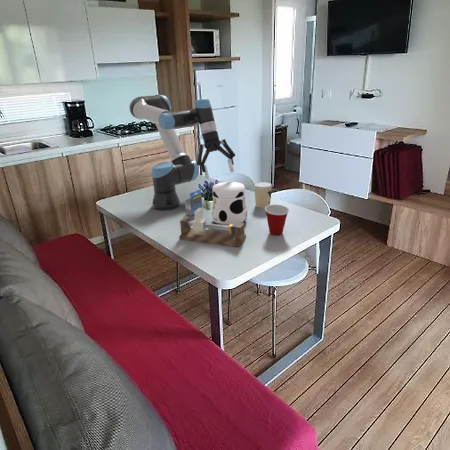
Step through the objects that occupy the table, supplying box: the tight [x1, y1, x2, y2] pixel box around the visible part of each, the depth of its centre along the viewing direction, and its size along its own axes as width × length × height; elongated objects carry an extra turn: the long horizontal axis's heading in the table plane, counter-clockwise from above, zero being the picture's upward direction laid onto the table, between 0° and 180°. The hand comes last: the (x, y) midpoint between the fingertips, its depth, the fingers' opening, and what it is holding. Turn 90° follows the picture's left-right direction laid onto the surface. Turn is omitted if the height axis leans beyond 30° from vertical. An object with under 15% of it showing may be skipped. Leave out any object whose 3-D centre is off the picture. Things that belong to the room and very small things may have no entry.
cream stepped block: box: [191, 207, 207, 231], centre depth 161 cm, size 5×5×9 cm
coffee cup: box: [253, 181, 273, 209], centre depth 194 cm, size 9×9×12 cm
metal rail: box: [187, 220, 237, 234], centre depth 160 cm, size 26×4×4 cm, turn 69°
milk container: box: [211, 181, 248, 226], centre depth 175 cm, size 17×17×18 cm
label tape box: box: [185, 189, 203, 217], centre depth 189 cm, size 9×4×12 cm, turn 144°
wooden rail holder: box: [178, 216, 247, 248], centre depth 160 cm, size 28×10×8 cm, turn 69°
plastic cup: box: [264, 204, 290, 237], centre depth 162 cm, size 11×11×12 cm
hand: (220, 175), depth 178 cm, fingers open, 13 cm apart
